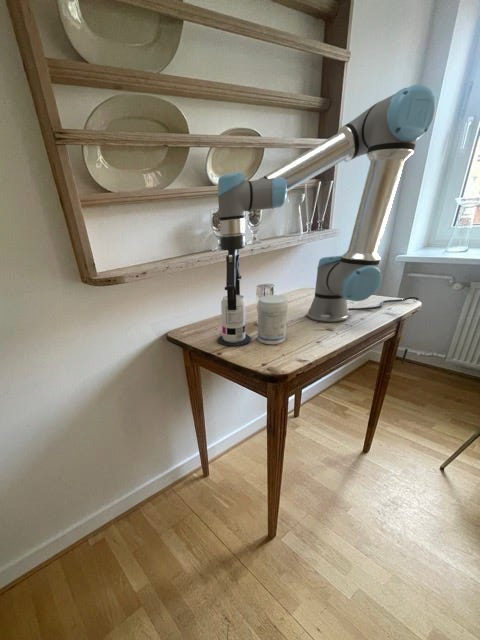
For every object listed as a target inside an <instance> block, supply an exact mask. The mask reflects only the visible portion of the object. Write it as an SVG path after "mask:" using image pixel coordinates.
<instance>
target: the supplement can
mask: <svg viewBox="0 0 480 640" xmlns="http://www.w3.org/2000/svg"><path fill="white" fill-rule="evenodd" d="M220 307H221V333H222V334H221V336H222V337H223V339H224V340H225V341H226V342H231V343H235V342H240V341H242V340H243V339H244V338H245V334H246V299H245V297H244V295H241V294H240V295H236V310H228V300H227V295H224V296H223V297H222V300H221V302H220Z"/></svg>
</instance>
